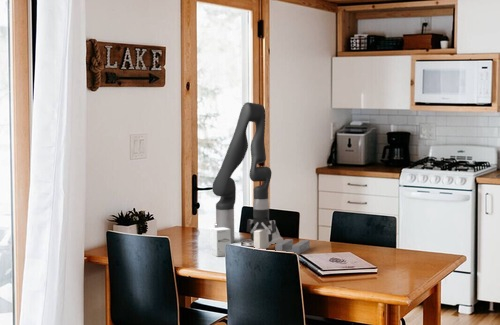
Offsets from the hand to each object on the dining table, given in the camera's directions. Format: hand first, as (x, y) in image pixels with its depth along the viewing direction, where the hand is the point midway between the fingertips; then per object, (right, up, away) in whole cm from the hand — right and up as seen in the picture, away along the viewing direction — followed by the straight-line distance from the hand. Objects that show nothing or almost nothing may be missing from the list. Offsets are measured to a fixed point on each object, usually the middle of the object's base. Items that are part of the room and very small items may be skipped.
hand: (261, 241), depth 387 cm
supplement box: (-19, -6, -10) cm, 23 cm away
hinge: (+4, -3, +18) cm, 19 cm away
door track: (+15, -4, -2) cm, 16 cm away
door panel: (0, -4, 0) cm, 4 cm away
